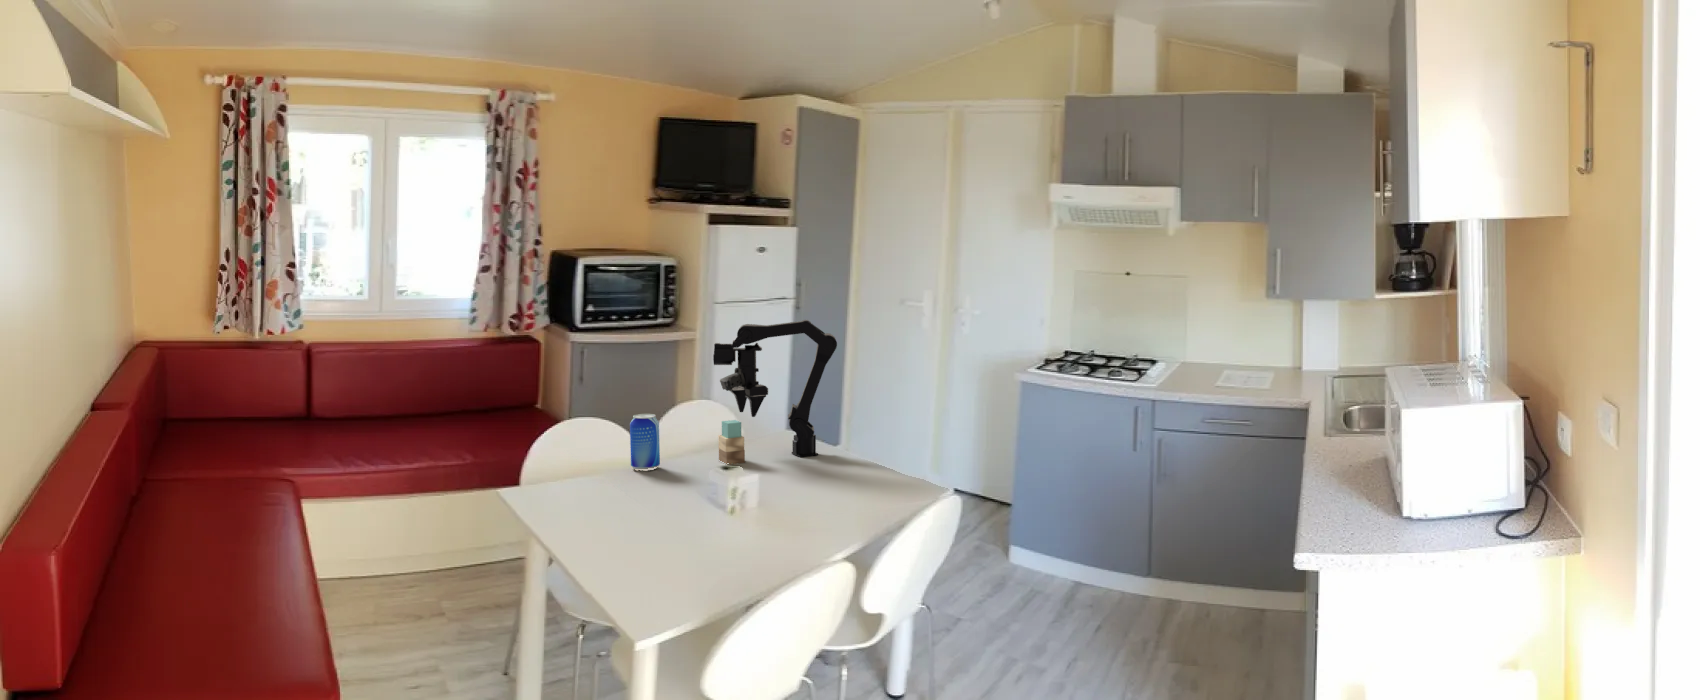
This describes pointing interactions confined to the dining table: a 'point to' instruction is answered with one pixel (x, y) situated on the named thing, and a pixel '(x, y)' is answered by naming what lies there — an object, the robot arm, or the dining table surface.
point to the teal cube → (731, 429)
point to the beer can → (644, 441)
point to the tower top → (731, 443)
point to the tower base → (732, 456)
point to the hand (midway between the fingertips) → (747, 414)
